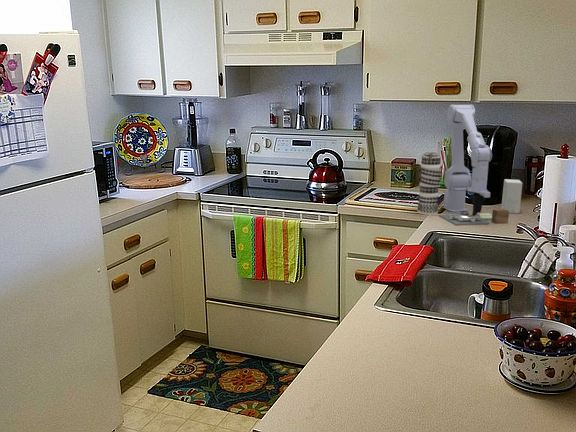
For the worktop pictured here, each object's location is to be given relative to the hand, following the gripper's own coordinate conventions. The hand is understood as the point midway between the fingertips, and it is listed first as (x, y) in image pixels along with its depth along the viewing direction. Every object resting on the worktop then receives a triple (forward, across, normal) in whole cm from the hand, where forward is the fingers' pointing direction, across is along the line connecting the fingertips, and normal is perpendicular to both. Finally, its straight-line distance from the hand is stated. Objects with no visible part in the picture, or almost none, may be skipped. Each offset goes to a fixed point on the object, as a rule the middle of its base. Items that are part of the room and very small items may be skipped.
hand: (477, 212), depth 243 cm
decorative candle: (+3, -16, -14) cm, 21 cm away
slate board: (+3, -2, -5) cm, 6 cm away
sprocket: (+3, -1, -5) cm, 6 cm away
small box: (+3, -13, +22) cm, 26 cm away
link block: (+4, +4, +8) cm, 9 cm away
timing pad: (+3, -5, +6) cm, 9 cm away
